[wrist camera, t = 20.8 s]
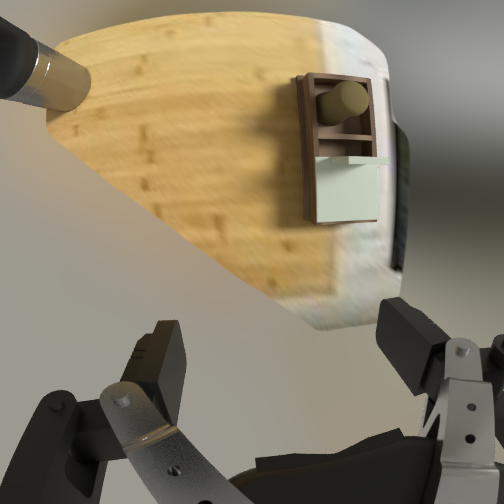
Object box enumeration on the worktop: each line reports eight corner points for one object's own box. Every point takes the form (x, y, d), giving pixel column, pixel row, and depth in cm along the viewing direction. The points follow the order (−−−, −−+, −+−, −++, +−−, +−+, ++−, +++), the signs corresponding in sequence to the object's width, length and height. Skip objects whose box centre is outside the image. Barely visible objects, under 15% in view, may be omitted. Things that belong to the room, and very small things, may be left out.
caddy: (303, 219, 49) (311, 225, 44) (296, 77, 41) (303, 68, 37) (367, 216, 49) (380, 221, 45) (361, 82, 42) (373, 75, 37)
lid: (316, 221, 44) (332, 233, 36) (314, 156, 41) (331, 155, 33) (377, 218, 44) (401, 229, 37) (377, 158, 41) (402, 158, 34)
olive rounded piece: (312, 125, 43) (335, 115, 33) (310, 90, 41) (332, 72, 31) (346, 127, 44) (377, 119, 33) (344, 93, 42) (373, 78, 31)
